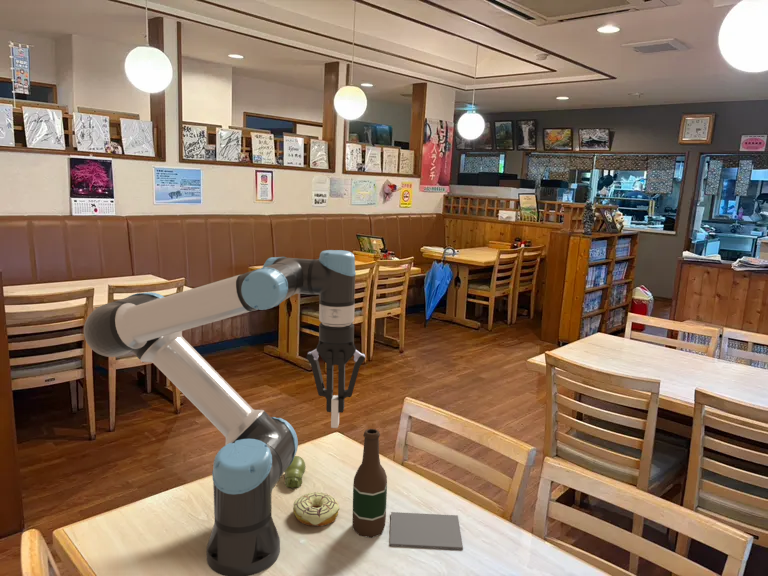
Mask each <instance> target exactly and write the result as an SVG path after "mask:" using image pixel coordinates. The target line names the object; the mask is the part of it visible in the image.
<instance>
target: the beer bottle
mask: <svg viewBox="0 0 768 576" xmlns="http://www.w3.org/2000/svg"><path fill="white" fill-rule="evenodd" d="M380 433H381V432H380V431H379V430H378V429H376V428H368V429H365V431H364V432H363V438H364V441H363V453H362V460H361V463H360V465H359V466H358V468H357V471H356V473H355V475H354V477H353V485H352V490H353V491H352V522H351V523H352V530H353V531H355V533H356V534H357V535H358V536H359V537H364V538H369V539H370V538H375V537H377V536H380V535H382V534H383V532H384V530H385V526H386V521H387V518H386V517H387V496H388V495H387V494H388V478H387V477H388V476H387V474H386V473H387V472H386V470H385V469H384V467H383V465H382V464H381V461H380V460H381V459H380V441H379V439H380V436H381V434H380Z"/></svg>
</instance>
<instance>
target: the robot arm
mask: <svg viewBox="0 0 768 576" xmlns="http://www.w3.org/2000/svg"><path fill="white" fill-rule="evenodd" d="M355 260H356V257H355V254H354V253H353V252H351V251H349V250H342V249H339V250H338V249H335V250H334V249H328V250H327V249H326V250H322V251H321V252H320V253H319V258H317V259H314V258H313V259H308V258H297V257H294V258H293V257H286V256H278V257H276V256H275V257H273V256H272V257H268V258H267V259H266V261H265V262H264V264H263V266H262V267H261V268H258V269H254V270H251V271H247V272H245V273H242V274H238V275H233V276H231V277H227V278H225V279H220V280H218V281H214V282H211V283H208V284H204V285H201V286H198V287H194V288H190V289H186V290H184V291H179V292H178V293H174V294H170V295H167V296H164V295H162V294H159V293H156V292H151V291H148V292H146V291H145V292H139V293H134V294H131V295H128V297H124V298H122V299H118V300H115V301H111V302H107V303H105V304H102V305H100V306H98V307H97V308H94V309H93V311H92V312H90V314H89V315H88V316H87V318H86V320H85V322H84V325H83V335H84V340H85V342H86V344H87V345H88V346H89V348H90V349H91V350H92V351H93V352H95V353H96V354H97V355H101V356H104V357H108V358H116V357H122V356H124V355H127V354H130V353H133V355H135V356H136V357H137V359H139V361H141V362H142V363H153V365H154V366H155V367H156V368H158V370H159V371H160V372H161V373H162V374H163V375H164V376H165V377H166V378H167V379H168V380H169V381H170V382H171V383H172V384H173V385H174V386H175V387H176V389H178V390H179V391H180V392H181V393H182V394H183V395H184V397H186V398H187V400H189V401H190V402H191V404H192V405H194V406H195V408H197V409H198V410H199V412H200V413H202V415H203V416H205V418H206V419H207V420H208V421H209V422H211V424H212V425H213V426H214V427H215V428H216V429H217V430H218V431H219V432H220V433H221V434H222V435H223V437H225V444H224V445H223V447H221V448H220V449H219V450H218V452H217V453H216V454H215V457H214V459H213V469H212V475H211V477H212V482H213V485H212V486H213V509H214V510H213V511H214V513H213V514H214V524H213V527H212V528H211V529H212V530H211V534H210V536H209V538H208V542H207V546H206V562H207V565H208V567H209V568H210V569H211V570H212V571H213V572H215V573H216V574H217V575H221V576H253V575H256V574H259V573H261V572H263V571H265V570H267V569H269V568H271V566H272V565H273V564H274V563H275V562H276V561H277V559H278V558H279V556H280V553H281V539H280V535H279V532H278V529H277V528H276V524H275V522H274V519H273V516H272V515H273V514H272V505H273V504H272V503H273V502H272V495H273V494H272V492H273V489H274V488H275V486H276V485H277V483H278V482H279V480H280V479H281V478H282V476H283V474H285V470H286V469H287V468H288V467H289V466H290V465H291V463H292V461H293V459H294V457H295V456H297V452H298V447H299V441H298V440H299V439H298V436H297V433H296V430H295V429H294V427H293V426H292V424H290V422H288V421H287V420H286V419H283V418H281V417H275V416H270V415H269V414H268V413H267V412H266V411H265V410H264V409H254V408H253V407H252V406H251V405H250V404H249V403H248V402H247V401H246V400H245V399H244V398H243V397H242V396H241V395H240V394H239V393H238V392H237V391H236V390H235V388H233V387H232V386H231V385H230V384H229V383H228V382H227V381H226V380H225V379H224V377H222V376H221V375H220V374H219V372H217V370H215V368H214V367H213V366H212V365H211V364H210V363H209V362H208V361H207V360H206V359H205V358H204V357H203V356H202V355H201V354H200V353H199V352H198V351H197V350H196V349H195V348H194V347H193V346H192V344H190V343H189V342H188V340H186V339H185V338H184V337H183V332H184V331H186V330H190V329H194V328H197V327H201V326H204V325H208V324H212V323H214V322H219V321H222V320H226V319H228V318H232V317H236V316H240V315H242V314H243V315H244V314H247V313H251V312H254V311H258V310H260V311H265V310H269V309H273V308H274V307H277V306H279V305H281V304H282V302H284V301H286V300H287V299H289V298H291V297H293V296H294V295H296V294H298V295H299V294H302V295H318V297H319V298H318V299H319V300H318V303H319V307H318V310H319V312H318V316H319V317H318V320H319V322H320V323H319V325H318V344H317V345H316V348H315V349H313V350H310V351H308V352H307V355H306V360H307V361H308V362H309V365H310V366H311V370H312V375H313V378H314V382H315V386H316V391H317V394H318V396H319V397H324V398H325V399H326V400H325V401H326V405H325V406H326V408H325V409H326V412H327V413H330V415H331V416H330V428H331V429H338V428H339V426H340V425H339V424H340V414H341V413H344V411H345V399H346V398H351V397H352V395H353V392H354V388H355V385H356V381H357V378H358V374H359V371H360V367H361V366H362V364H363V363H364V362H365V360H366V354H365V353H364V352H360V351H359V350H357V348H356V347H357V346H356V345H355V324H354V323H353V322H354V321H355V309H356V308H355V304H356V303H355V293H356V291H355V290H356V275H357V272H356V261H355ZM319 356H320V357H321V359H322V360H323V361H324V362H325V365H326V368H325V369H326V382H325V383H326V386H325V383H324V379H323V375H322V371H321V366H320V362H319ZM352 357H354V358H353V361H354V365H353V369H352V372H351V377H350V380H349V383H348V387H347V389H346V364H347V363H348V362H349V360H351V358H352ZM335 365H336V366H338V367H337V370H338V372H337V373H338V375H337V376H338V380H337V381H338V382H337V385H338V387H337V395H335V394H334V366H335ZM325 387H326V388H325ZM333 394H334V395H333Z"/></svg>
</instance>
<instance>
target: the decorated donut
mask: <svg viewBox="0 0 768 576" xmlns="http://www.w3.org/2000/svg"><path fill="white" fill-rule="evenodd" d="M292 507H293V508H292V511H293V514H294V515H295V518H296V519H297V520H298V522H300V523H302V524H304V525H306V526H307V525H308V526H314V527H315V526H317V527H323V526H327V525H330V524H332V523H334V522H335V521H336V519H337V517H338V515H339V510H340V506H339V502H338V501H337V499H336V498H335V497H333V496H332V495H330V494H328V493H323V492H318V491H317V492H316V491H315V492H309V493H305V494H303V495H301V496H299V497H298V498H297V499H296V500H294V502H293V506H292Z"/></svg>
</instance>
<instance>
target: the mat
mask: <svg viewBox="0 0 768 576" xmlns="http://www.w3.org/2000/svg"><path fill="white" fill-rule="evenodd" d="M390 513H391V514H390V532H389V533H390V536H389V537H390V538H389V546H390V547H405V548H406V547H409V548H426V549H427V548H428V549H444V550H445V549H448V550H462V551H463V549H464V547H463V546H464V544H463V541H462V532H461V528H460V527H461V526H460V521H459V515H455V514H439V513H437V514H435V513H419V512H417V513H416V512H414V513H413V512H395V511H391V512H390Z"/></svg>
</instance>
